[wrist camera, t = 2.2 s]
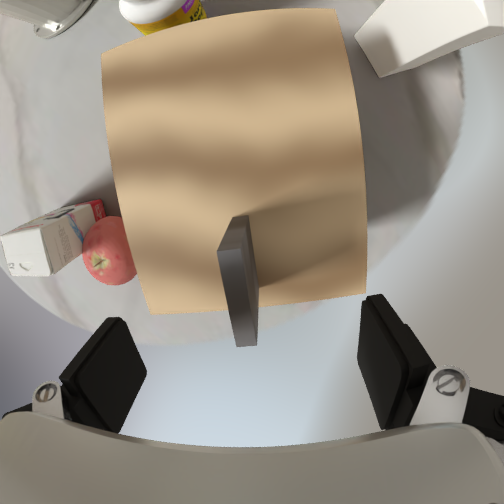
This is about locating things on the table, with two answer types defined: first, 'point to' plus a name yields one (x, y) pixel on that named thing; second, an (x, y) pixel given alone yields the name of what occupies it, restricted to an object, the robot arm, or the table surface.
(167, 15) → the supplement bottle
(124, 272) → the apple
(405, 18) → the milk
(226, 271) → the lid
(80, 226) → the ink box
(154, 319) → the table surface
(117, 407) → the robot arm
